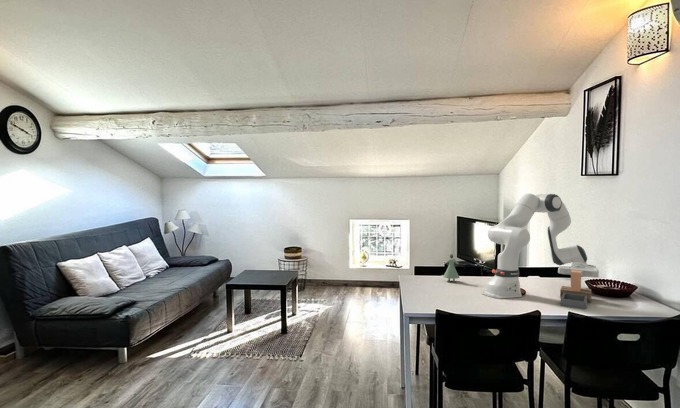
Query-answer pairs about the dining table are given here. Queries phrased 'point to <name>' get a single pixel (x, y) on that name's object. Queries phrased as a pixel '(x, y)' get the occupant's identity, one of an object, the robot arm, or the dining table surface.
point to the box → (574, 300)
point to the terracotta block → (576, 280)
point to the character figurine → (451, 269)
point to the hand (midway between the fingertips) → (577, 273)
